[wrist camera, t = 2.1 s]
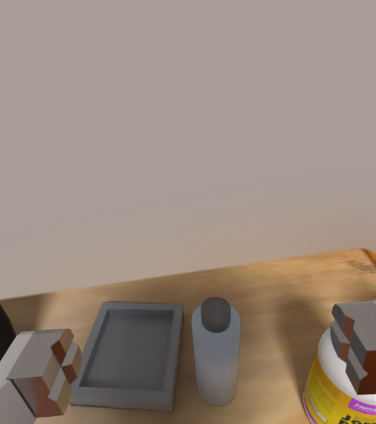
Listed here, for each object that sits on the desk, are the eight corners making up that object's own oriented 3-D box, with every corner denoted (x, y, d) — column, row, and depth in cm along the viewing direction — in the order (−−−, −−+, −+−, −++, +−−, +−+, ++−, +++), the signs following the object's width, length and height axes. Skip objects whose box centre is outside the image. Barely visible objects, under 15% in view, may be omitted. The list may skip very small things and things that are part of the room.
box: (70, 405, 31) (65, 396, 30) (106, 311, 41) (103, 302, 40) (172, 411, 30) (170, 402, 29) (183, 313, 40) (182, 304, 39)
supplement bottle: (321, 458, 26) (358, 384, 19) (291, 382, 32) (310, 303, 25) (392, 445, 27) (453, 368, 20) (349, 372, 32) (385, 292, 25)
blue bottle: (195, 404, 30) (188, 330, 24) (197, 363, 34) (192, 288, 27) (238, 407, 30) (243, 332, 23) (235, 365, 34) (239, 289, 27)
